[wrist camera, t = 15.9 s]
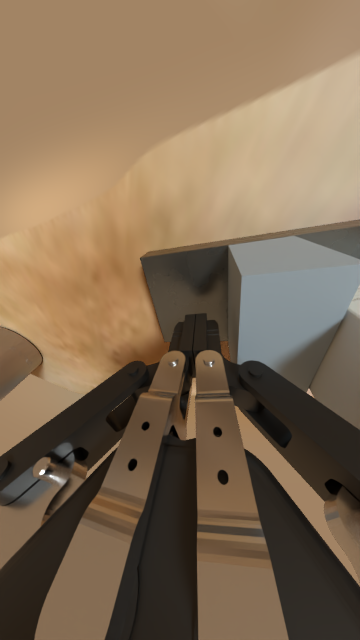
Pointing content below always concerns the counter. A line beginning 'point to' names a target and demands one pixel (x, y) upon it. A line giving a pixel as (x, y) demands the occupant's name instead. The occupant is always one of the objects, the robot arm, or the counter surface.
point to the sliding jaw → (287, 303)
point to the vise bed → (219, 273)
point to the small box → (342, 368)
